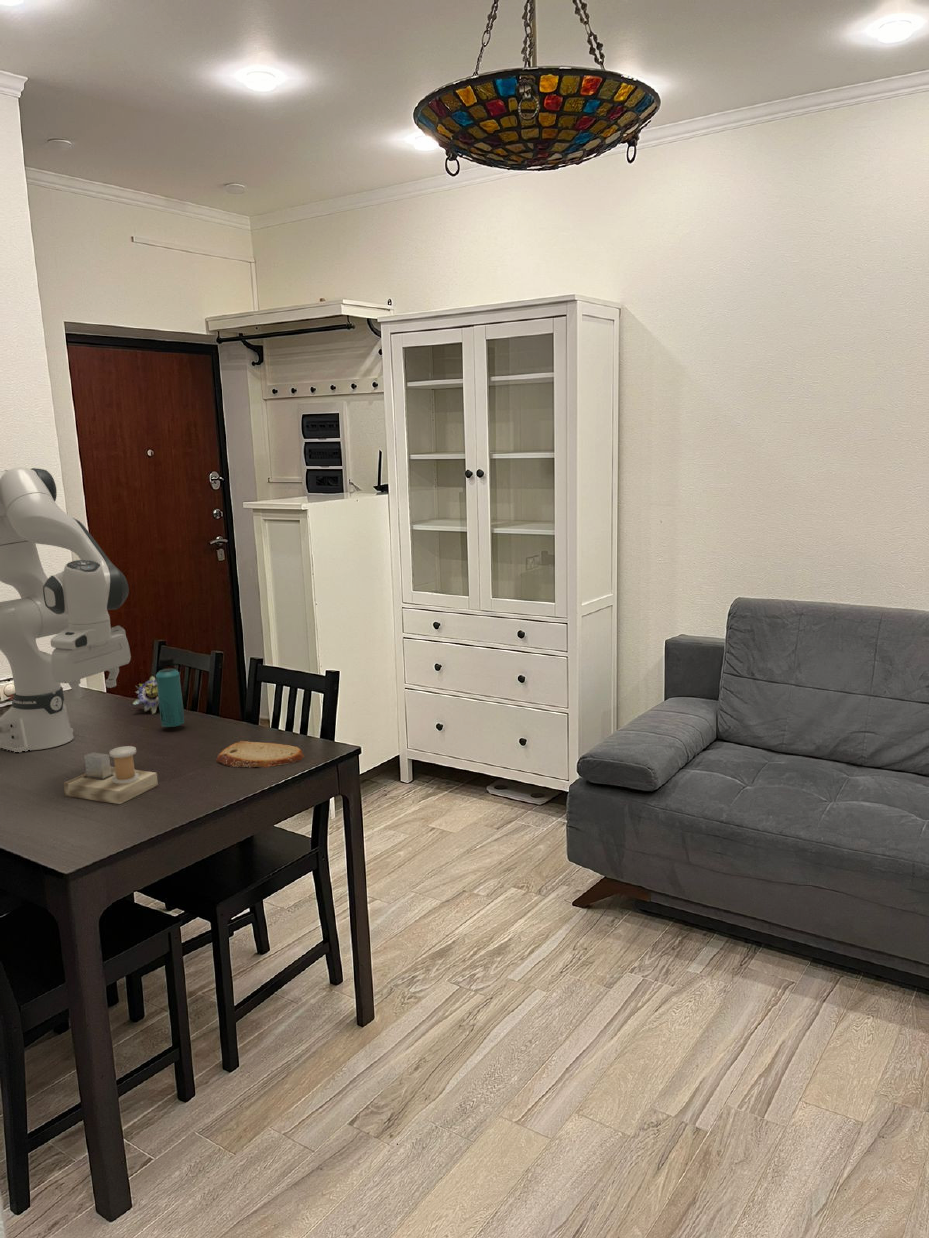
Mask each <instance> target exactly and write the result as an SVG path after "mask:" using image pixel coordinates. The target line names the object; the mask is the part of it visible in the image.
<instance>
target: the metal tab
mask: <svg viewBox="0 0 929 1238" xmlns="http://www.w3.org/2000/svg"><path fill="white" fill-rule="evenodd" d="M83 757H84V764H85V765H84V767H85V773H86V776H87V778H90V779H97V780H105V779H107V778H109V777H111V767H112V766H111V761H110V759H111V757H110V754H108V753H107V754H106V753H100V752H90V753H88V754H85V755H83ZM110 766H111V767H110Z"/></svg>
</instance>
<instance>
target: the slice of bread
mask: <svg viewBox="0 0 929 1238" xmlns="http://www.w3.org/2000/svg"><path fill="white" fill-rule="evenodd" d="M303 757H305V755H304V753H303V751H302V749H300V748H299V747H298V746H293V745H290V744H282V743H274V742H259V741H257V742H256V741H247V740H246V741H244V740H240V741H238V742H234V743H232V744H231V745H229V746H227V747H226V748H224V749H223V750H222V751H221V752H220V753H219V754H218V755H217V757H216V759H215V761H216V763H220V764H223V765H224V766H227V767H229V768H230V767H231V768H238V767H249V768H248V769H251V768H250V767H265V768H270V767H269V766H276V767H278V766H277V765H281V764H284V763H292V762H295V761H298V760H301V759H302V758H303ZM302 760H303V759H302ZM302 760H301V761H302ZM298 762H299V761H298ZM295 763H296V762H295ZM292 764H293V763H292Z"/></svg>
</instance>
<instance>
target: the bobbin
mask: <svg viewBox="0 0 929 1238" xmlns="http://www.w3.org/2000/svg"><path fill="white" fill-rule="evenodd" d="M136 753H137V748H136V747H135V746H132V745H127V746H125V745H124V746H118V747H115V748H112V749H110V750H109V758H113V762H114V767H115V772H116V775H115V776H114V777H113V778H112V780H113V783H114V784H119V785H122V784H129V783H133V782H135V781H137V780H138V779H139V774H138V773H135V771H134V770H135V763H134V755H135V754H136Z"/></svg>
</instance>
